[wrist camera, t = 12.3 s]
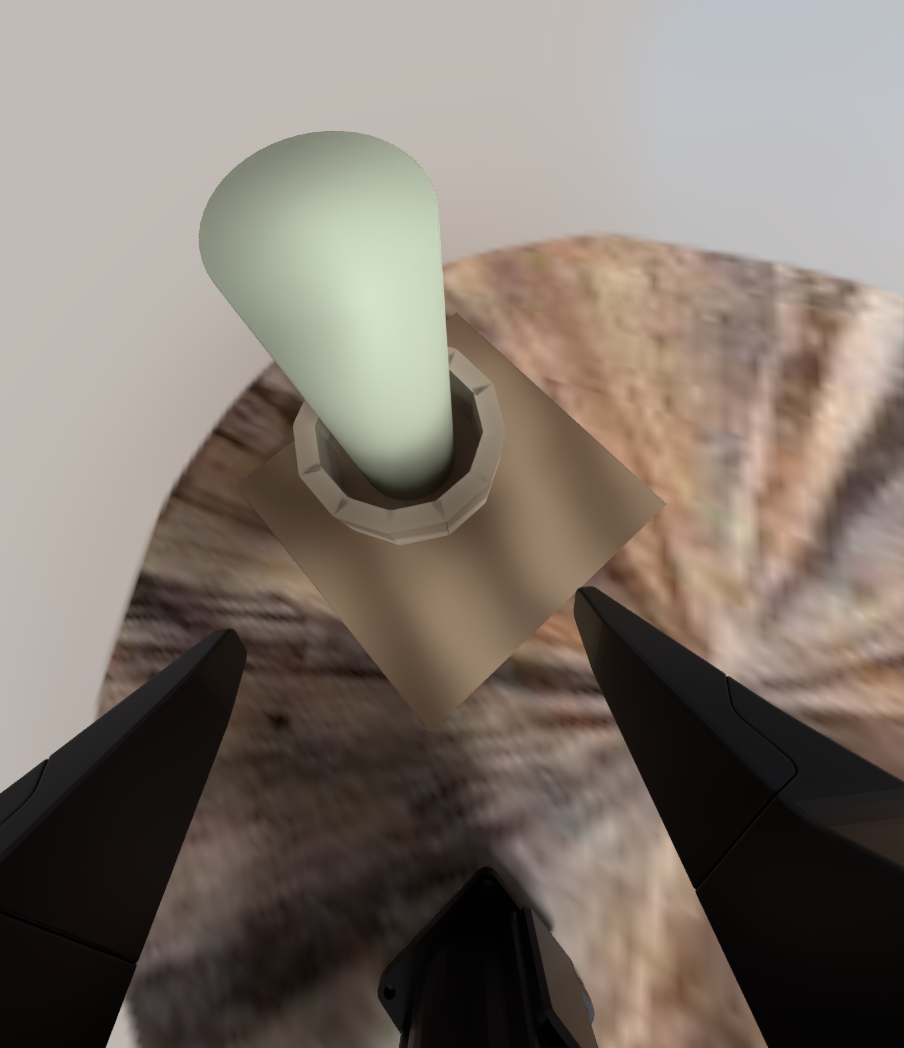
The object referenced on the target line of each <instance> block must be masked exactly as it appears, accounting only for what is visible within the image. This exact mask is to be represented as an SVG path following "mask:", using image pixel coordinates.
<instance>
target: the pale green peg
mask: <svg viewBox="0 0 904 1048" xmlns="http://www.w3.org/2000/svg"><path fill="white" fill-rule="evenodd" d="M199 248H200V253H201V258H202V261H203V264H204V266H205V269H206V271H207V273H208V275H209V276H210V278H211V280H212V281H213V283H214V284H215V285H216V287H217V288H218V289H219V290H220V292H221V293H222V294H223V295H224V297H225V298H226V299H227V301H228V302H229V303H230V304H231V306H232V307H233V308H234V309H235V311H236V312H237V313H238V315H239V316H240V317H241V318H242V320H243V321H244V322H245V324H246V325H247V326H248V327H249V329H250V330H251V331H252V333H253V334H254V335H255V336H256V338H257V339H258V340H259V341H260V343H261V344H262V345H263V347H264V348H265V349H266V350H267V352H268V353H269V354H270V356H271V357H272V358H273V359H274V361H275V362H276V363H277V364H278V366H279V367H280V368H281V370H282V371H283V372H284V373H285V375H286V376H287V377H288V379H289V380H290V381H291V382H292V384H293V385H294V386H295V387H296V389H297V390H298V391H299V393H300V394H301V395H302V396H303V398H304V399H305V400H306V401H307V403H308V404H309V405H310V407H311V408H312V409H313V410H314V412H315V413H316V414H317V416H318V417H319V418H320V419H321V421H322V422H323V423H324V424H325V426H326V427H327V428H328V430H329V431H330V432H331V433H332V435H333V436H334V437H335V439H336V440H337V441H338V442H339V444H340V445H341V446H342V447H343V449H344V450H345V451H346V453H347V454H348V455H349V456H350V458H351V459H352V460H353V461H354V463H355V464H356V465H357V467H358V468H359V469H360V470H361V472H362V473H363V474H364V476H365V477H366V478H367V479H368V481H369V482H370V483H371V484H372V485H373V487H374V488H375V489H377V490H378V491H379V492H380V493H382V494H384V495H386V496H388V497H390V498H393V499H397V500H416V499H420V498H423V497H426V496H428V495H430V494H432V493H433V492H435V491H436V490H438V489H439V488H440V487H441V486H442V485H443V484H444V483H445V481H446V480H447V479H448V477H449V475H450V473H451V471H452V468H453V465H454V458H455V453H454V438H453V423H452V408H451V393H450V378H449V363H448V347H447V332H446V317H445V302H444V287H443V272H442V257H441V242H440V228H439V212H438V202H437V198H436V193H435V190H434V188H433V185H432V183H431V181H430V179H429V177H428V176H427V174H426V173H425V171H424V170H423V168H422V167H421V166H420V165H419V164H418V163H417V162H416V160H414V159H413V158H412V157H411V156H409V155H408V154H407V153H406V152H404V151H403V150H401V149H400V148H398V147H396V146H395V145H393V144H391V143H388V142H386V141H384V140H382V139H379V138H376V137H373V136H370V135H365V134H360V133H354V132H345V131H324V132H313V133H308V134H303V135H298V136H295V137H291V138H287V139H284V140H282V141H279V142H276V143H274V144H271V145H269V146H267V147H265V148H263V149H261V150H259V151H258V152H256V153H254V154H253V155H251V156H250V157H248V158H247V159H245V160H244V161H243V162H241V163H240V164H239V165H238V166H236V167H235V168H234V169H233V170H232V171H231V172H230V173H229V174H228V175H227V176H226V177H225V178H224V179H223V180H222V182H221V183H220V184H219V185H218V187H217V188H216V189H215V191H214V193H213V194H212V196H211V197H210V199H209V201H208V203H207V206H206V208H205V210H204V213H203V216H202V220H201V223H200V231H199Z"/></svg>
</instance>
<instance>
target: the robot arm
mask: <svg viewBox="0 0 904 1048" xmlns="http://www.w3.org/2000/svg"><path fill="white" fill-rule="evenodd" d="M574 618H575V621H576V624H577V627H578V630H579V633H580V636H581V639H582V642H583V645H584V647H585V650H586V653H587V656H588V659H589V662H590V665H591V668H592V671H593V673H594V675H595V678H596V680H597V682H598V684H599V687H600V689H601V691H602V693H603V695H604V697H605V699H606V702H607V704H608V706H609V708H610V710H611V712H612V714H613V716H614V719H615V721H616V723H617V725H618V727H619V729H620V731H621V734H622V736H623V738H624V740H625V742H626V744H627V746H628V749H629V751H630V753H631V755H632V757H633V759H634V761H635V764H636V766H637V768H638V770H639V772H640V774H641V776H642V778H643V781H644V783H645V785H646V787H647V789H648V791H649V793H650V796H651V798H652V800H653V802H654V804H655V806H656V808H657V811H658V813H659V815H660V817H661V819H662V821H663V823H664V826H665V828H666V830H667V832H668V834H669V836H670V838H671V840H672V843H673V845H674V847H675V849H676V851H677V853H678V855H679V858H680V860H681V862H682V864H683V866H684V868H685V870H686V873H687V875H688V877H689V879H690V881H691V883H692V885H693V887H694V889H696V890H695V892H696V894H697V897H698V899H699V901H700V903H701V905H702V907H703V909H704V912H705V914H706V916H707V918H708V920H709V922H710V924H711V927H712V929H713V931H714V933H715V935H716V937H717V939H718V942H719V944H720V946H721V948H722V950H723V952H724V954H725V956H726V959H727V961H728V963H729V965H730V967H731V969H732V971H733V974H734V976H735V978H736V980H737V982H738V984H739V986H740V989H741V991H742V993H743V995H744V997H745V999H746V1001H747V1004H748V1006H749V1008H750V1010H751V1012H752V1014H753V1016H754V1019H755V1021H756V1023H757V1025H758V1027H759V1029H760V1031H761V1034H762V1036H763V1038H764V1040H765V1042H766V1044H767V1046H768V1048H904V781H903V780H901V779H899V778H897V777H895V776H894V775H892V774H890V773H888V772H887V771H885V770H883V769H882V768H880V767H878V766H876V765H875V764H873V763H871V762H870V761H868V760H866V759H864V758H863V757H861V756H859V755H857V754H856V753H854V752H852V751H851V750H849V749H847V748H845V747H844V746H842V745H840V744H838V743H837V742H835V741H833V740H832V739H830V738H828V737H826V736H825V735H823V734H821V733H820V732H818V731H816V730H814V729H813V728H811V727H809V726H808V725H806V724H804V723H803V722H801V721H799V720H797V719H796V718H794V717H792V716H791V715H789V714H787V713H786V712H784V711H782V710H781V709H779V708H777V707H776V706H774V705H773V704H771V703H770V702H768V701H766V700H765V699H763V698H762V697H760V696H759V695H757V694H755V693H754V692H752V691H751V690H749V689H748V688H746V687H745V686H743V685H742V684H740V683H739V682H737V681H736V680H734V679H733V678H731V677H729V676H727V677H726V675H725V673H723V672H722V671H720V670H719V669H717V668H716V667H714V666H713V665H711V664H710V663H708V662H707V661H705V660H704V659H702V658H701V657H699V656H698V655H696V654H695V653H693V652H692V651H690V650H689V649H687V648H686V647H684V646H683V645H681V644H680V643H678V642H677V641H675V640H674V639H672V638H671V637H669V636H668V635H666V634H665V633H663V632H662V631H660V630H659V629H657V628H656V627H654V626H653V625H651V624H650V623H648V622H647V621H645V620H644V619H642V618H641V617H639V616H638V615H636V614H635V613H633V612H632V611H630V610H628V609H627V608H625V607H624V606H622V605H621V604H619V603H618V602H616V601H615V600H613V599H612V598H610V597H609V596H607V595H606V594H604V593H603V592H601V591H600V590H598V589H597V588H595V587H593V586H588V587H580V588H578V589H577V590H576V595H575V603H574ZM246 658H247V651H246V648H245V646H244V644H243V643H242V641H241V639H240V637H239V636H238V634H237V632H236V631H235V630H234V629H231V628H228V629H219V630H215V631H214V632H212V633H211V634H209V635H208V636H207V637H206V638H204V639H203V640H202V641H200V642H199V643H198V644H196V645H195V646H194V647H192V648H191V649H190V650H188V651H187V652H186V653H185V654H183V655H182V656H181V657H179V658H178V659H177V660H175V661H174V662H173V663H171V664H170V665H169V666H167V667H166V668H165V669H163V670H162V671H161V672H160V673H158V674H157V675H156V676H154V677H153V678H152V679H150V680H149V681H148V682H146V683H145V684H144V685H142V686H141V687H140V688H139V689H137V690H136V691H135V692H133V693H132V694H131V695H129V696H128V697H127V698H125V699H124V700H123V701H121V702H120V703H119V704H118V705H116V706H115V707H114V708H112V709H111V710H110V711H108V712H107V713H106V714H104V715H103V716H102V717H100V718H99V719H98V720H97V721H95V722H94V723H93V724H91V725H90V726H89V727H87V728H86V729H85V730H83V731H82V732H81V733H79V734H78V735H77V736H76V737H74V738H73V739H72V740H70V741H69V742H68V743H66V744H65V745H64V746H62V747H61V748H60V749H58V750H57V751H56V752H55V753H53V754H52V755H51V756H50V757H49V759H46V760H44V761H43V762H41V763H40V764H39V765H37V766H36V767H35V768H33V769H32V770H31V771H30V772H28V773H27V774H26V775H24V776H23V777H22V778H20V779H19V780H18V781H17V782H15V783H14V784H12V785H11V786H10V787H8V788H7V789H6V790H4V791H3V792H2V793H0V1048H106V1045H107V1043H108V1040H109V1037H110V1035H111V1032H112V1030H113V1027H114V1024H115V1022H116V1019H117V1016H118V1014H119V1011H120V1009H121V1006H122V1003H123V1001H124V998H125V995H126V993H127V990H128V987H129V985H130V982H131V980H132V977H133V974H134V972H135V969H136V966H137V964H136V963H137V962H138V960H139V958H140V955H141V952H142V950H143V947H144V944H145V942H146V939H147V937H148V934H149V931H150V929H151V926H152V923H153V921H154V918H155V915H156V913H157V910H158V907H159V905H160V902H161V900H162V897H163V894H164V892H165V889H166V886H167V884H168V881H169V878H170V876H171V873H172V870H173V868H174V865H175V863H176V860H177V857H178V855H179V852H180V849H181V847H182V844H183V841H184V839H185V836H186V834H187V831H188V828H189V826H190V823H191V820H192V818H193V815H194V812H195V810H196V807H197V804H198V802H199V799H200V797H201V794H202V791H203V789H204V786H205V783H206V781H207V778H208V775H209V773H210V770H211V767H212V765H213V762H214V760H215V757H216V754H217V752H218V749H219V746H220V744H221V741H222V738H223V736H224V733H225V731H226V728H227V725H228V722H229V719H230V717H231V713H232V710H233V707H234V703H235V699H236V696H237V692H238V688H239V684H240V681H241V677H242V673H243V669H244V666H245V662H246ZM486 880H490V881H491V882H492V885H491V886H489V887H485V886H484V885H483V882H484V881H486ZM388 984H392V985H393V986H394V987H395V988H394V989H389V988H388V987H387V986H386V985H388ZM378 998H379V1000H380V1002H381V1004H382V1005H383V1007H384V1009H385V1010H386V1012H387V1013H388V1015H389V1016H390V1018H391V1019H392V1021H393V1022H394V1024H395V1026H396V1027H397V1029H398V1030H399V1032H400V1033H401V1037H400V1044H399V1048H598V1045H597V1042H596V1039H595V1035H594V1032H593V1029H592V1025H591V1024H592V1022H593V1020H594V1009H593V1005H592V1002H591V999H590V996H589V994H588V992H587V991H586V989H585V988H584V987H583V986H582V984H581V983H580V982H579V980H578V979H577V976H576V972H575V969H574V966H573V963H572V961H571V959H570V958H569V956H568V955H567V954H566V952H565V951H564V950H563V949H562V947H561V946H560V945H559V943H558V942H557V941H556V939H555V938H554V937H553V936H552V934H551V933H550V932H549V930H548V929H547V928H546V926H545V925H544V924H543V922H542V921H541V920H540V919H539V917H538V916H537V915H536V913H535V912H534V911H533V909H532V908H530V907H527V906H523V907H522V906H521V904H520V903H519V902H518V900H517V899H516V898H515V896H514V895H513V894H512V892H511V891H510V890H509V888H508V887H507V886H506V885H505V883H504V882H503V881H502V879H501V878H500V877H499V875H498V874H497V873H496V871H495V870H493V869H492V868H490V867H483V868H481V869H480V870H479V871H478V872H477V873H476V874H475V875H474V876H473V877H472V878H471V879H470V880H469V881H468V882H467V883H466V884H465V886H464V887H463V888H462V889H461V890H460V891H459V892H458V893H457V894H456V895H455V896H454V897H453V898H452V899H451V900H450V901H449V902H448V904H447V905H446V906H445V907H444V908H443V909H442V910H441V911H440V912H439V913H438V914H437V915H436V916H435V917H434V918H433V919H432V920H431V921H430V923H429V924H428V925H427V926H426V927H425V928H424V929H423V930H422V931H421V932H420V933H419V934H418V935H417V936H416V937H415V938H414V939H413V940H412V942H411V943H410V944H409V945H408V946H407V947H406V948H405V949H404V950H403V951H402V952H401V953H400V954H399V955H398V956H397V957H396V958H395V960H394V961H393V962H392V963H391V964H390V965H389V966H388V967H387V968H386V969H385V970H384V971H383V973H382V975H381V978H380V982H379V987H378Z"/></svg>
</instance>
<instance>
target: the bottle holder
mask: <svg viewBox="0 0 904 1048" xmlns="http://www.w3.org/2000/svg"><path fill="white" fill-rule="evenodd" d="M446 332H447V347H448V363H449V378H450V393H451V408H452V423H453V438H454V453H455V458H454V465H453V468H452V471H451V473H450V475H449V477H448V479H447V480H446V481H445V483H444V484H443V485H442V486H441V487H440V488H439V489H438V490H436V491H435V492H433V493H432V494H430V495H428V496H426V497H423V498H420V499H416V500H397V499H393V498H390V497H388V496H386V495H384V494H382V493H380V492H379V491H378V490H377V489H375V488H374V487H373V485H372V484H371V483H370V482H369V481H368V479H367V478H366V477H365V476H364V474H363V473H362V472H361V470H360V469H359V468H358V467H357V465H356V464H355V463H354V461H353V460H352V459H351V458H350V456H349V455H348V454H347V453H346V451H345V450H344V449H343V447H342V446H341V445H340V444H339V442H338V441H337V440H336V439H335V437H334V436H333V435H332V433H331V432H330V431H329V430H328V428H327V427H326V426H325V424H324V423H323V422H322V421H321V419H320V418H319V417H318V416H317V414H316V413H315V412H314V410H313V409H312V408H311V407H310V405H309V404H308V403H307V401H306V400H304V402H303V404H302V406H301V408H300V410H299V413H298V415H297V417H296V419H295V421H294V424H293V431H294V439H295V440H293V441H292V442H291V443H290V444H288V445H287V446H286V447H284V448H283V449H282V450H281V451H279V452H278V453H277V454H276V455H274V456H273V457H272V458H270V459H269V460H268V461H267V462H265V463H264V464H263V465H262V466H260V467H259V468H258V469H256V470H255V471H254V472H253V473H251V474H250V475H249V476H248V477H246V478H245V479H244V480H242V481H241V482H240V483H239V484H237V485H236V487H237V488H238V489H239V491H240V492H241V493H242V495H243V496H244V497H245V498H246V500H247V501H248V502H249V503H250V505H251V506H252V507H253V509H254V510H255V511H256V512H257V514H258V515H259V516H260V517H261V519H262V520H263V521H264V522H265V524H266V525H267V526H268V528H269V529H270V530H271V531H272V533H273V534H274V535H275V536H276V538H277V539H278V540H279V542H280V543H281V544H282V545H283V547H284V548H285V549H286V550H287V552H288V553H289V554H290V555H291V557H292V558H293V559H294V561H295V562H296V563H297V564H298V566H299V567H300V568H301V569H302V571H303V572H304V573H305V575H306V576H307V577H308V578H309V580H310V581H311V582H312V583H313V585H314V586H315V587H316V588H317V590H318V591H319V592H320V594H321V595H322V596H323V597H324V599H325V600H326V601H327V602H328V604H329V605H330V606H331V608H332V609H333V610H334V611H335V613H336V614H337V615H338V616H339V618H340V619H341V620H342V621H343V623H344V624H345V625H346V627H347V628H348V629H349V630H350V632H351V633H352V634H353V635H354V637H355V638H356V639H357V641H358V642H359V643H360V644H361V646H362V647H363V648H364V649H365V651H366V652H367V653H368V654H369V656H370V657H371V658H372V660H373V661H374V662H375V663H376V665H377V666H378V667H379V668H380V670H381V671H382V672H383V674H384V675H385V676H386V677H387V679H388V680H389V681H390V682H391V684H392V685H393V686H394V687H395V689H396V690H397V691H398V693H399V694H400V695H401V696H402V698H403V699H404V700H405V701H406V703H407V704H408V705H409V707H410V708H411V709H412V710H413V712H414V713H415V714H416V715H417V717H418V718H419V719H420V720H421V722H422V723H423V724H424V726H425V727H426V728H427V729H428V731H429V732H430V733H431V732H432V731H433V730H434V729H435V728H436V727H437V726H438V725H439V724H440V723H441V722H442V721H443V720H444V719H445V718H447V717H448V716H449V715H450V714H451V713H452V712H453V711H454V710H455V709H456V708H457V707H458V706H459V705H460V704H461V703H462V702H463V701H464V700H465V699H466V698H467V697H468V696H469V695H470V694H471V693H472V692H473V691H474V690H475V689H476V688H477V687H478V686H480V685H481V684H482V683H483V682H484V681H485V680H486V679H487V678H488V677H489V676H490V675H491V674H492V673H493V672H494V671H495V670H496V669H497V668H498V667H499V666H500V665H501V664H502V663H503V662H504V661H505V660H506V659H507V658H508V657H509V656H510V655H511V654H513V653H514V652H515V651H516V650H517V649H518V648H519V647H520V646H521V645H522V644H523V643H524V642H525V641H526V640H527V639H528V638H529V637H530V636H531V635H532V634H533V633H534V632H535V631H536V630H537V629H538V628H539V627H540V626H541V625H542V624H543V623H544V622H546V621H547V620H548V619H549V618H550V617H551V616H552V615H553V614H554V613H555V612H556V611H557V610H558V609H559V608H560V607H561V606H562V605H563V604H564V603H565V602H566V601H567V600H568V599H569V598H570V597H571V596H572V595H573V594H574V593H575V592H576V590H577V589H578V588H580V587H582V586H583V585H584V584H585V583H586V582H587V581H588V580H589V579H590V578H591V577H592V576H593V575H594V574H595V573H596V572H597V571H598V570H599V569H600V568H601V567H602V566H603V565H604V564H605V563H606V562H607V561H608V560H609V559H610V558H612V557H613V556H614V555H615V554H616V553H617V552H618V551H619V550H620V549H621V548H622V547H623V546H624V545H625V544H626V543H627V542H628V541H629V540H630V539H631V538H632V537H633V536H634V535H635V534H636V533H637V532H638V531H639V530H640V529H641V528H642V527H643V526H645V525H646V524H647V523H648V522H649V521H650V520H651V519H652V518H653V517H654V516H655V515H656V514H657V513H658V512H659V511H660V510H661V509H662V508H663V507H664V506H665V505H666V503H665V502H664V501H663V500H661V499H660V498H659V497H658V496H657V495H656V494H655V493H654V492H653V491H652V490H650V489H649V488H648V487H647V486H646V485H645V484H644V483H643V482H642V481H641V480H640V479H638V478H637V477H636V476H635V475H634V474H633V473H632V472H631V471H630V470H629V469H627V468H626V467H625V466H624V465H623V464H622V463H621V462H620V461H619V460H618V459H616V458H615V457H614V456H613V455H612V454H611V453H610V452H609V451H608V450H607V449H605V448H604V447H603V446H602V445H601V444H600V443H599V442H598V441H597V440H596V439H595V438H593V437H592V436H591V435H590V434H589V433H588V432H587V431H586V430H585V429H584V428H582V427H581V426H580V425H579V424H578V423H577V422H576V421H575V420H574V419H573V418H571V417H570V416H569V415H568V414H567V413H566V412H565V411H564V410H563V409H562V408H561V407H559V406H558V405H557V404H556V403H555V402H554V401H553V400H552V399H551V398H550V397H548V396H547V395H546V394H545V393H544V392H543V391H542V390H541V389H540V388H539V387H537V386H536V385H535V384H534V383H533V382H532V381H531V380H530V379H529V378H528V377H527V376H525V375H524V374H523V373H522V372H521V371H520V370H519V369H518V368H517V367H516V366H514V365H513V364H512V363H511V362H510V361H509V360H508V359H507V358H506V357H505V356H503V355H502V354H501V353H500V352H499V351H498V350H497V349H496V348H495V347H494V346H493V345H491V344H490V343H489V342H488V341H487V340H486V339H485V338H484V337H483V336H482V335H480V334H479V333H478V332H477V331H476V330H475V329H474V328H473V327H472V326H471V325H469V324H468V323H467V322H466V321H465V320H464V319H463V318H462V317H461V316H460V315H459V314H457V313H455V314H454V315H453V316H451V317H450V318H449V319H448V320H446Z"/></svg>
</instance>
